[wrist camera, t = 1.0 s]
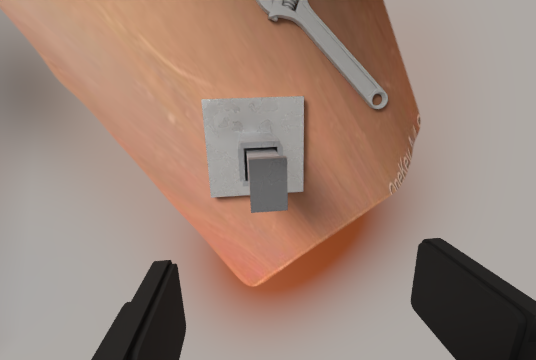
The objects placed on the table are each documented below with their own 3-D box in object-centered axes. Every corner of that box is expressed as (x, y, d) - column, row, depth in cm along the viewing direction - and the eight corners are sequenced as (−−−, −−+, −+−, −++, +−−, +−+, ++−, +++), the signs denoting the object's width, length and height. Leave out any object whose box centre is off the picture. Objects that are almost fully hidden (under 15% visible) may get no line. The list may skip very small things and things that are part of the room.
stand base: (202, 99, 37) (187, 98, 26) (301, 96, 38) (326, 93, 27) (212, 194, 41) (201, 227, 30) (301, 188, 42) (322, 218, 31)
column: (244, 133, 37) (248, 159, 20) (265, 132, 37) (287, 157, 20) (246, 164, 38) (251, 212, 21) (266, 163, 39) (287, 210, 22)
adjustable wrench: (386, 99, 40) (393, 99, 38) (353, 128, 41) (358, 130, 39) (276, -54, 33) (278, -63, 31) (239, -15, 34) (239, -21, 32)
